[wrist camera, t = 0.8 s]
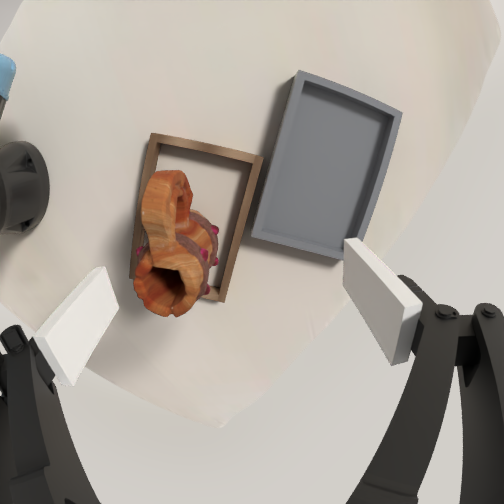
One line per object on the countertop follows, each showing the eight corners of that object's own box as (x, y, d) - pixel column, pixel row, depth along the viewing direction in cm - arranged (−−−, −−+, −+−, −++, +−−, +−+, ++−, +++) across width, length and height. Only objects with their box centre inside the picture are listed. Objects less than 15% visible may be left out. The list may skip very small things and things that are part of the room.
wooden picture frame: (133, 272, 40) (129, 278, 38) (156, 133, 33) (150, 133, 31) (225, 295, 41) (224, 302, 39) (262, 156, 34) (263, 157, 32)
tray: (250, 229, 38) (251, 236, 35) (294, 75, 30) (298, 69, 27) (346, 254, 39) (353, 263, 36) (392, 114, 32) (402, 112, 29)
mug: (221, 270, 40) (208, 338, 26) (164, 268, 39) (127, 331, 25) (222, 162, 34) (204, 175, 20) (159, 163, 34) (105, 178, 20)
